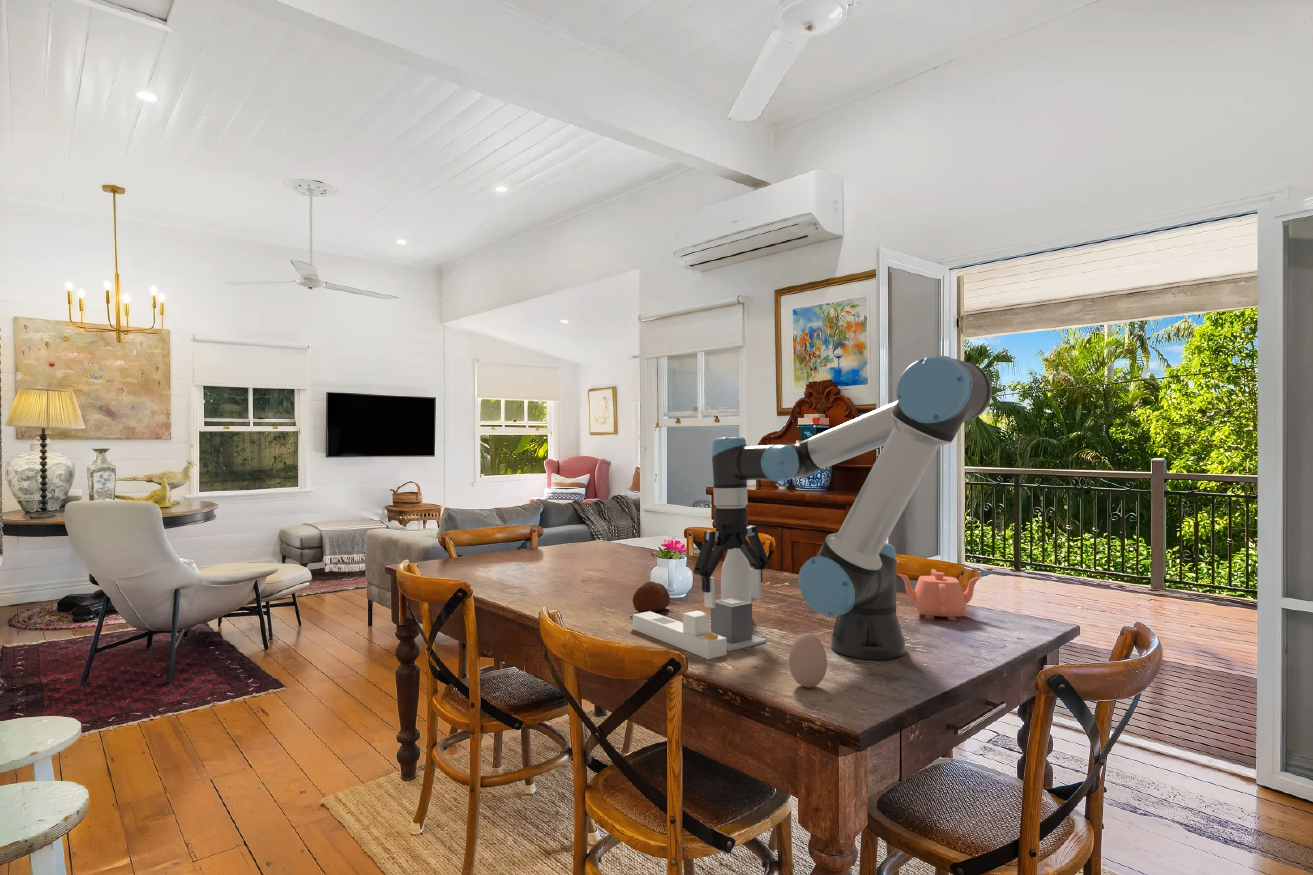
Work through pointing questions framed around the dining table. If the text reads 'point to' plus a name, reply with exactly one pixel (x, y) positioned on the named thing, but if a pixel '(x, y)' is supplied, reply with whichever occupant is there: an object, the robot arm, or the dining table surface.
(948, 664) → the dining table surface
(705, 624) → the white plug
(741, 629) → the block
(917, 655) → the dining table surface
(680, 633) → the power strip
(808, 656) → the egg
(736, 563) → the milk bottle
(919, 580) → the teapot
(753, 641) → the mat
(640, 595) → the potato
